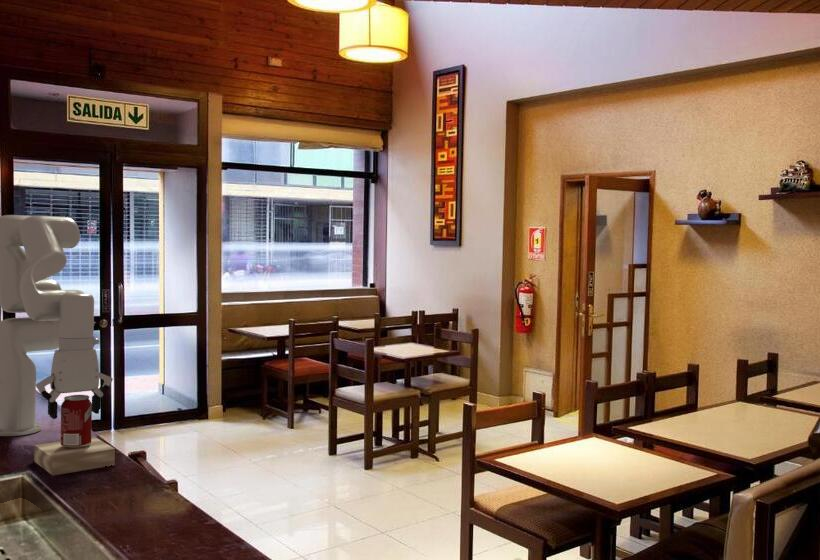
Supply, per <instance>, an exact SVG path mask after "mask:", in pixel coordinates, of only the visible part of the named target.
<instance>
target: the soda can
mask: <svg viewBox="0 0 820 560" xmlns="http://www.w3.org/2000/svg"><path fill="white" fill-rule="evenodd" d="M89 398H90V396H89V395H88V394H87V395H86V394H72V395H66V396H64V397H63V402H62V403H61V405H60V441H61V446H63V447H65V448H67V449H79V448H84V447H86V446H87V445H89V444H91V437H92V430H93V429H92V424H93V423H92V418H93V417H92V416H93V412H92V400H90V399H89Z"/></svg>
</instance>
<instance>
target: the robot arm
mask: <svg viewBox="0 0 820 560" xmlns="http://www.w3.org/2000/svg"><path fill="white" fill-rule="evenodd" d="M80 233H81V232H80V228H79V226H78V224H77V222H76V220H74V219H73V218H71V217H67V216H53V215H52V216H50V215H26V214H25V215H23V214H22V215H21V214H20V215H19V214H7V215H6V214H5V215H0V308H1V309H2V310H3V311H4V312H6V313H15V314H17V313H18V314H21V313H24V314H25V313H26V314H27V317H11V318H5V319H3V320H1V321H0V437H19V436H25V435H30V434H34V433H38V432H40V431H41V430H42V424H40V423H38V422H36V407H37V406H36V405H37V403H36V401H37V400H36V399H37V396H36V395H37V394H36V393H37V392H36V391H37V390H38V392H39V395H41V396H42V397H43V398H45V399H46V401H47V414H48V416H49V418H52V419H53V420H55V419H58V401H56V400H57V399H58V397H60V396H61V394H71V393H83V392H89V391H91V392H92V394H93V395H92V396H91V403H92V413H94V414H95V415H97V414H99V413H100V410H101V408H102V398H103V396H104V394H105V393H106V392H107V391H108V390H110V389H109V388H110V386H111V383H112V382H113V380H114V379H113V377H111V376H109V375H106V374H104V373H102V372H100V369H99V360H98V355H97V349H95V345H99V344H100V339H99V338H96V337H95V336H94V332H95V331H94V328H95V327H94V325H95V323H94V322H95V319H94V318H95V313H94V312H95V298H94V295H92V294H91V293H87V292H84V291H83V290H79V289H62V287H61V285H60V283H59V282H58V281H57V280H55V279H52V278H50V277H52V276H55V275H57V274H59V273H60V272H62V270H64V268H65V267H66V265H67V262H68V261H67V257H66V256H67V255H66V253H65V251H64V249H73V248H76V247H77V245H78V244H79V242H80V239H81V238H80V237H81V234H80ZM51 350H52V351H53V350H54V353H53V356H52V363H51V370H50V371H51V373H50V375H49V376H48V377H46V378H44V379H42V380H40V381H39V382H37V368H36V365H35V362H34V361H33V360H32V359H31V358H30V357H29V356H28V354H27V353H31V352H40V351H51ZM100 379H101V380H103V384H102V385H101V386H100V387H99V385H100ZM48 385H49V386H50V390H51V391H50V392H48V391H47V389H46V387H47V386H48Z"/></svg>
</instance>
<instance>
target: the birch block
mask: <svg viewBox="0 0 820 560" xmlns="http://www.w3.org/2000/svg"><path fill="white" fill-rule="evenodd" d="M33 449H34V450H33V453H34V457H33V458H34V459H33V462H34V463H35V464H37V465H38V466H39V467H40V468H42V469H43V470H44V471H46V472H47V473H48V474H49V475H51V476H58V475H59V476H60V475H65V474H70V473H77V472H82V471H88V470H93V469H94V470H95V469H98V468H99V469H102V468H105V466H107V467H111V465H112V466H116V463H115V462H116V460H115V459H116V448H115V447H113V446H111V445H110V444H107V443H106V442H104V441H103V440H101V439H99V438H97V437H96V436H91V444H89V445H87V446H86V447H84V448H79V449H67V448H65V447H63V446H61V440H60V441H54V442H47V443H40V444H34V447H33Z"/></svg>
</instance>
